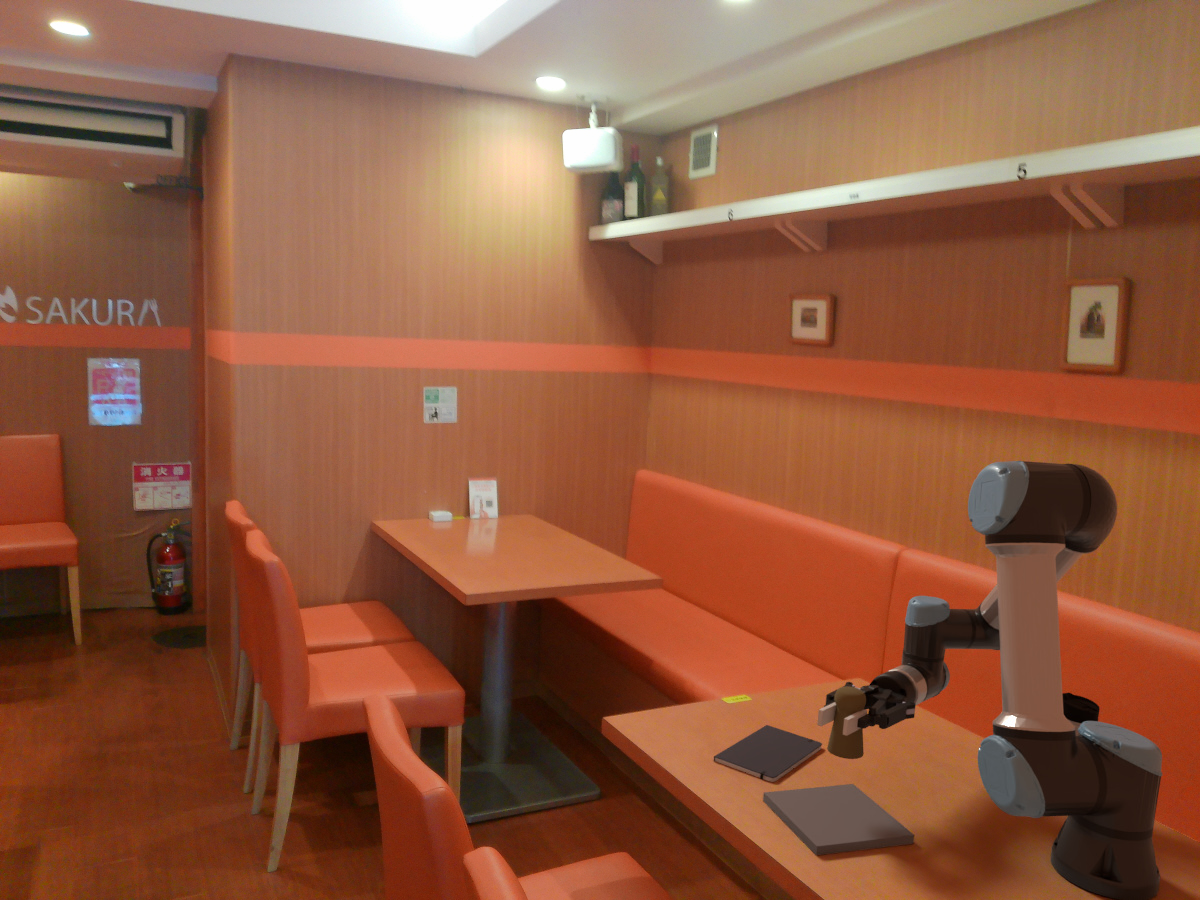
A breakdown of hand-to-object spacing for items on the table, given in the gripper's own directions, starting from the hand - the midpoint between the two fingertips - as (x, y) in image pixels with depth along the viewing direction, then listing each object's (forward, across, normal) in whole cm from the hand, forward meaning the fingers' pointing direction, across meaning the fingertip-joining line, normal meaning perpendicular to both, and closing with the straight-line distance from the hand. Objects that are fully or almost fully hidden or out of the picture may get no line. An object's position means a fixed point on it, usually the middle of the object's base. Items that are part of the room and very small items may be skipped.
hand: (832, 722), depth 157 cm
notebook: (-16, +21, -19) cm, 33 cm away
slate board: (-3, -1, -18) cm, 18 cm away
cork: (-5, 0, -7) cm, 9 cm away
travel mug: (-42, -26, -18) cm, 52 cm away
